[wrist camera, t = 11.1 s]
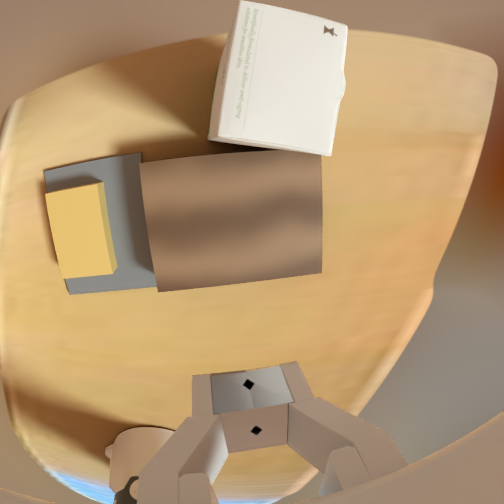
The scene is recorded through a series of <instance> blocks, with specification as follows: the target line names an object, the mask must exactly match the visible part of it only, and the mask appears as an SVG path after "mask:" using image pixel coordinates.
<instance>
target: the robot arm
mask: <svg viewBox="0 0 504 504" xmlns="http://www.w3.org/2000/svg"><path fill="white" fill-rule="evenodd" d="M284 444H288V446H289V447H290V448H292V449H293V450H294V451H295V452H297V453H298V454H299V455H300V456H301V457H303V458H304V459H305V460H307V461H308V462H309V463H310V464H312V465H313V466H314V467H316V468H317V469H318V470H319V471H321V472H322V473H323V474H324V478H323V482H322V485H321V489H320V492H319V497H317V498H313V499H308V500H304V501H300V502H296V503H291V504H504V411H503V412H501V413H500V414H499V415H497V416H495V417H494V418H492V419H491V420H490V421H488V422H486V423H485V424H483V425H482V426H480V427H479V428H477V429H476V430H474V431H472V432H471V433H469V434H467V435H466V436H464V437H462V438H461V439H459V440H457V441H455V442H454V443H452V444H450V445H449V446H447V447H445V448H443V449H441V450H439V451H437V452H435V453H433V454H431V455H429V456H427V457H425V458H423V459H421V460H419V461H417V462H414V463H413V464H410V465H408V464H407V463H406V461H405V459H404V458H403V456H402V455H401V453H400V451H399V450H398V448H397V446H396V445H395V443H394V442H393V440H392V438H391V437H390V435H389V434H388V432H387V431H385V430H383V429H380V428H378V427H376V426H374V425H372V424H370V423H368V422H366V421H364V420H362V419H360V418H358V417H356V416H354V415H352V414H350V413H348V412H346V411H345V410H343V409H341V408H339V407H337V406H335V405H333V404H331V403H329V402H328V401H326V400H324V399H322V398H320V397H318V398H314V396H313V394H312V392H311V389H310V387H309V385H308V383H307V381H306V379H305V377H304V374H303V372H302V370H301V368H300V366H299V364H298V362H296V361H294V362H289V363H284V364H279V365H275V366H269V367H263V368H256V369H250V370H242V371H233V372H223V373H212V374H211V375H210V374H203V375H193V377H192V417H187V418H186V419H185V420H184V421H183V423H182V424H181V425H180V426H179V427H178V428H177V430H176V431H175V432H174V431H171V430H167V429H162V428H154V427H138V428H132V429H128V430H126V431H124V432H122V433H120V434H119V435H118V436H117V437H116V439H115V442H114V443H113V444H112V445H109V446H108V447H106V448H105V455H106V456H107V457H108V458H109V459H110V471H109V487H110V489H112V491H113V492H114V493H115V498H114V502H113V504H219V503H218V500H217V498H216V495H215V493H214V490H213V488H212V484H213V482H214V480H215V479H216V477H217V475H218V473H219V471H220V470H221V468H222V466H223V464H224V462H225V460H226V459H227V457H228V453H234V452H240V451H247V450H252V449H258V448H266V447H272V446H279V445H284ZM0 504H58V503H53V502H49V501H45V500H41V499H38V498H34V497H30V496H27V495H24V494H20V493H17V492H14V491H11V490H8V489H5V488H2V487H0Z"/></svg>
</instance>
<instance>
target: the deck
mask: <svg viewBox="0 0 504 504" xmlns="http://www.w3.org/2000/svg"><path fill="white" fill-rule="evenodd" d="M139 168H140V177H141V186H142V195H143V203H144V210H145V217H146V224H147V231H148V238H149V244H150V250H151V256H152V262H153V267H154V273H155V278H156V283H157V289H158V292H165V291H175V290H184V289H194V288H203V287H212V286H221V285H230V284H238V283H247V282H255V281H263V280H271V279H279V278H287V277H294V276H302V275H309V274H317V273H322V166H321V155H318V154H312V153H306V152H298V151H290V150H260V151H244V152H230V153H218V154H207V155H197V156H188V157H179V158H171V159H163V160H155V161H148V162H143V163H139Z"/></svg>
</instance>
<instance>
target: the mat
mask: <svg viewBox="0 0 504 504" xmlns="http://www.w3.org/2000/svg"><path fill="white" fill-rule="evenodd" d="M139 163H142V156H141V152H140V153H134V154H127V155H121V156H116V157H110V158H104V159H99V160H94V161H89V162H84V163H79V164H74V165H70V166H65V167H61V168H57V169H52V170H48V171H44V174H45V182H46V189H47V193H50V192H52V191H57V190H61V189H66V188H71V187H77V186H82V185H87V184H93V183H99V182H103V183H104V191H105V198H106V205H107V212H108V218H109V224H110V230H111V236H112V241H113V247H114V252H115V257H116V262H117V268H116V270H115V271H114V273H113V274H107V275H98V276H88V277H78V278H68V279H65V280H66V284H67V288H68V291H69V294H70V295H71V294H83V293H95V292H106V291H117V290H127V289H138V288H148V287H157V283H156V278H155V273H154V267H153V262H152V256H151V250H150V244H149V238H148V231H147V224H146V217H145V210H144V203H143V195H142V186H141V177H140V168H139Z"/></svg>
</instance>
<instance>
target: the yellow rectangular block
mask: <svg viewBox="0 0 504 504" xmlns="http://www.w3.org/2000/svg"><path fill="white" fill-rule="evenodd" d="M45 198H46V204H47V210H48V216H49V221H50V227H51V232H52V236H53V241H54V246H55V250H56V254H57V259H58V263H59V267H60V271H61V274H62V278H63V279H68V278H78V277H88V276H98V275H107V274H113V273H114V271H115V270H116V268H117V262H116V257H115V252H114V247H113V241H112V236H111V230H110V224H109V218H108V212H107V205H106V198H105V191H104V183H103V182H99V183H93V184H87V185H82V186H77V187H71V188H66V189H61V190H57V191H52V192H50V193H47V194H45Z"/></svg>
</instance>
